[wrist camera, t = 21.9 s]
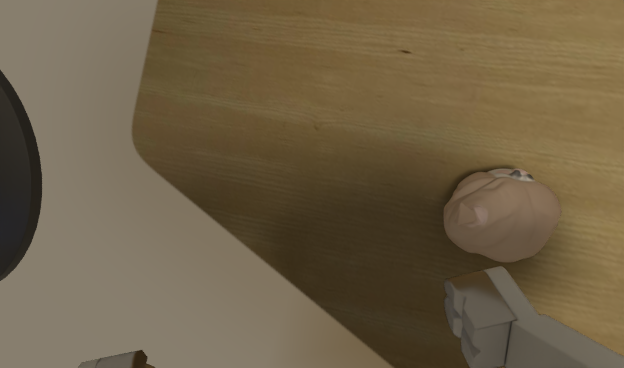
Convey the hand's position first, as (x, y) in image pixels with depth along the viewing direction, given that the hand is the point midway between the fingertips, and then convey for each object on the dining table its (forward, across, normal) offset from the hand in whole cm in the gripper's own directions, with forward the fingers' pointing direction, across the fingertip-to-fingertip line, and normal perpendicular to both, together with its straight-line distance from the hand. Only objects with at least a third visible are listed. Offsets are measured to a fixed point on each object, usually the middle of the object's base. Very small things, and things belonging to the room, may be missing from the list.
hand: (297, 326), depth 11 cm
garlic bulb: (+15, -14, +12) cm, 24 cm away
